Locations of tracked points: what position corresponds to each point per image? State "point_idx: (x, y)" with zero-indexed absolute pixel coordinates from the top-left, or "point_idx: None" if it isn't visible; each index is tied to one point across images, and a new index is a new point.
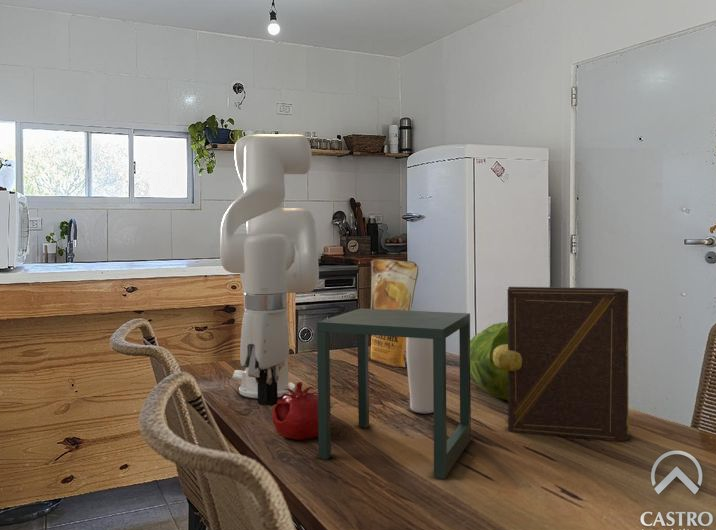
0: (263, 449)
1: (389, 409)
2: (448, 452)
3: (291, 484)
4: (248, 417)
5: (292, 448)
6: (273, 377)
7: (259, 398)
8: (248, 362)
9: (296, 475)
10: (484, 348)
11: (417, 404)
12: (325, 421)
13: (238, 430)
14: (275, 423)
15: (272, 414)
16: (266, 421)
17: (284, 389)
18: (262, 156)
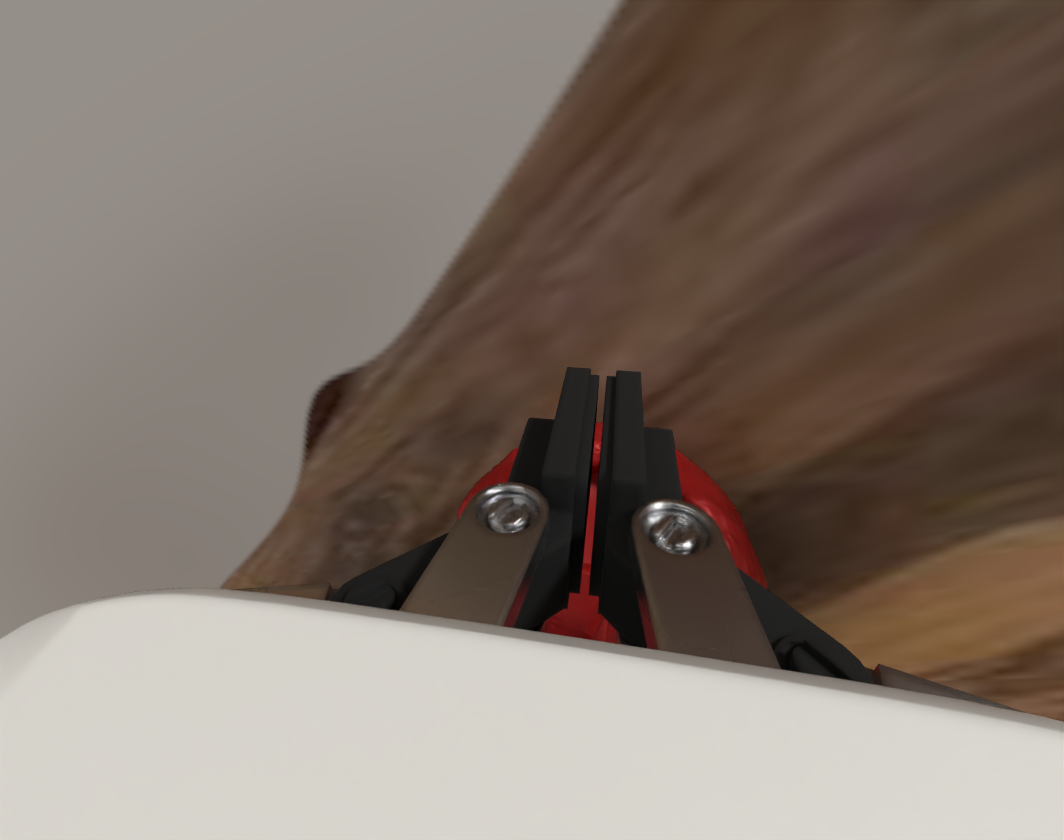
0: (376, 437)
1: (1050, 712)
2: None
3: (244, 580)
4: (843, 56)
5: (443, 519)
6: (616, 637)
7: (528, 420)
8: (277, 672)
9: (289, 577)
10: None
11: None
12: None
13: (526, 183)
14: (479, 480)
15: (491, 482)
16: (758, 263)
17: (602, 619)
18: None
